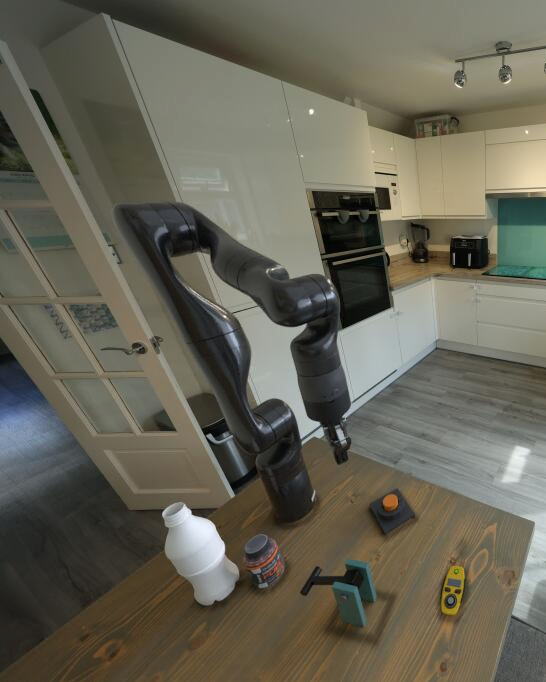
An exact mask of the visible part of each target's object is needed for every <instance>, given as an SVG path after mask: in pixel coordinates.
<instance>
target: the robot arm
mask: <svg viewBox="0 0 546 682" xmlns="http://www.w3.org/2000/svg"><path fill="white" fill-rule="evenodd" d="M111 219H112V222H113V225H114V228H115V230H116V232H117V234H118V235H119V237H120V239H121V241H122V242H123V245H124V246H125V247H126V249H127V250H128V252H129V253H130V255H131V257H132V258H133V259H134V261H135V262H136V264H137V265H138V267H139V268H140V270H141V271H142V273H143V274H144V276H145V278H146V279H147V280H148V282H149V283H150V284H151V287H153V289H154V291H155V292H156V294H157V295H158V297H159V299H160V300H161V302H162V303H163V305H164V307H165V309H166V311H167V312H168V314H169V317H170V318H171V320H172V322H173V323H174V325H175V327H176V329H177V332H178V334H179V335H180V337H181V339H182V342H183V343H184V345H185V348H187V350H188V352H189V354H190V356H191V357H192V359H193V361H194V363H195V364H196V365H197V367H198V369H199V370H200V372H201V374H202V375H203V378H204V379H205V380H206V383H207V384H208V386H209V387H210V390H211V391H212V393H213V395H214V397H215V399H216V402H217V404H218V406H219V409H220V410H221V414H222V416H223V418H224V420H225V424H226V426H227V428H228V429H229V432H230V434H231V436H232V438H233V439H234V441H235V443H236V444H237V445H238V447H240V449H241V450H242V451H243V452H245V453H247V454H248V455H251V456H256V458H255V468H256V471H257V472H258V475H259V477H260V479H261V482H262V484H263V485H262V486H263V488H264V490H265V493H266V495H267V498H268V500H269V502H270V505H271V507H272V509H273V510H272V511H273V512H274V515H275V517H276V519H277V521H279V522H280V523H283V524H291V523H295V522H298V521H300V520H301V519H303V518H305V517H306V516H308V515H309V514H310V512H311V511H312V510H313V509H314V507H315V505H316V501H318V499H317V497H316V494H317V493H316V490H315V489H314V488H313V485H312V482H311V478H310V475H309V472H308V469H307V465H306V463H305V459H304V456H303V453H302V447H303V442H302V439H301V438H302V437H301V433H300V429H299V424H298V421H297V420H298V419H297V417H296V414H295V412H294V411H293V409H292V408H291V406H290V405H289V404H288V403H287V402H285V401H284V400H283V399H280V398H276V397H273V398H269V399H266V400H264V401H263V402H261V403H260V404H258V405H257V406H255V407H253V408H252V407H251V403H250V400H249V396H248V381H249V376H250V371H251V364H252V355H253V354H252V353H253V352H252V346H251V344H250V340H249V339H248V337H247V335H246V333H245V330H244V328H243V326H242V324H241V323H240V320H239V319H238V318H237V317H236V316H235V314H234V313H232V312H231V311H229V310H228V309H227V308H226V307H224V306H222V305H221V304H219V303H218V302H216V301H215V300H213V299H211V298H210V297H208V296H207V295H205V294H204V293H202V292H200V291H199V290H197V289H196V287H194V286H193V285H191V284H190V283H189V282H188V281H187V280H186V279H185V278H184V276H182V274H181V273H180V272H179V271H178V269H177V268H176V267H175V265H174V263H173V262H172V260H171V259H172V258H179V257H186V256H192V255H197V254H199V253H201V254H204V255H205V254H206V255H208V256H209V259H210V261H209V262H210V265H211V268H212V270H213V272H214V273H215V275H216V276H217V278H219V279H220V280H221V281H222V282H223V283H225V285H228V286H229V287H231V288H233V289H234V290H237V292H240V293H242V294H243V295H245V296H247V297H249V298H250V299H251V300H252V301H253V302H254V304H256V305H257V307H259V309H261V310H262V312H263V313H264V314H265V315H266V317H267V318H268V319H269V320H270V321H271V322H272V323H274V324H275V325H277V326H280V327H284V328H289V329H290V328H291V329H292V328H298V327H301V326H303V325H305V327H304V329H303V330H302V331H301V332H300V333H299V334H297V335H296V336H295V337H294V338H293V339H292V340H291V342H290V345H289V350H290V353H291V357H292V361H293V365H294V368H295V371H296V377H297V378H296V379H297V386H298V389H299V392H300V396H301V399H302V400H301V401H302V403H303V407H304V411H305V414H306V417H307V418H308V419H309V420H311V421H313V422H316V423H319V425H320V427H321V428H322V431H323V436H324V437H325V439H326V441H327V443H328V444H329V447H331V451H332V454H333V458H334V461H335V463H336V465H337V466H340V465H342V464H344V463H346V462H348V461H349V455H348V451H349V450H350V449H351V445H352V438H351V437H350V436H348V435H349V434H348V430H347V427H348V424H347V423H348V421H347V419H346V418H345V416H344V415H345V414H346V413H348V412H349V410H350V409H351V406H352V401H351V396H350V391H349V385H348V380H347V375H346V373H345V369H344V366H343V364H342V359H341V355H340V354H341V353H340V349H339V346H338V335H339V326H340V325H339V324H340V313H341V301H340V300H341V299H340V295H339V292H338V290H337V287H336V286H335V284H334V283H333V282H332V281H331V280H330V279H329V278H328V277H327V276H325V275H323V274H320V273H309V274H305V275H300V276H297V277H293V278H290V274H289V272H288V270H287V269H286V267H285V266H284V265H282V264H281V263H279V262H278V261H276V260H274V259H272V258H270V257H268V256H266V255H264V254H262V253H260V252H258V251H256V250H254V249H252V248H250V247H248V246H246V245H244V244H243V243H241V242H240V241H238V240H237V239H235V238H234V237H233V236H232V235H231V234H230V233H228V232H227V231H226V230H224V229H223V228H222V227H220V226H219V225H218V224H217V223H216V222H214V221H213V220H211V219H210V218H209V217H207V216H206V215H205V214H204V213H202V212H201V211H199V210H198V209H197V208H195V207H193V206H191V205H189V204H187V203H184V202H181V201H167V200H166V201H165V200H163V201H162V200H161V201H160V200H159V201H126V202H117V203H115V204H114V205H113V206H112V208H111Z"/></svg>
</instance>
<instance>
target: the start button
mask: <svg viewBox="0 0 546 682" xmlns="http://www.w3.org/2000/svg"><path fill="white" fill-rule="evenodd" d="M383 506H384V509H385V510H386V511H393V510H395V509H396V508H397V506H398V499H397V496H396V495H394V494H390V495H388V496H386V497H385V498H384V500H383Z"/></svg>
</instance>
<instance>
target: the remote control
mask: <svg viewBox="0 0 546 682" xmlns="http://www.w3.org/2000/svg"><path fill="white" fill-rule="evenodd" d="M465 591H466V578H465V569H464V567H463V566H459V565H451V566H450V568H449V569H448V572H447V573H446V575H445V577H444V579H443V583H442V586H441V591H440V600H441V601H440V607H441V608H440V609H441V613H442V614H444V615H447V616H455V615H456V614H457V613H458V610H459V608H460V606H461V604H462V602H463V600H464V597H465Z"/></svg>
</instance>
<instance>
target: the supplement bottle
mask: <svg viewBox="0 0 546 682" xmlns="http://www.w3.org/2000/svg"><path fill="white" fill-rule="evenodd" d="M243 549H244V553H243V556H242V564H243V566H244V568H245V571H246V573H247V574H248V577H249V579H250V581H251V583H252V585H253V587H254V588H256V589H264V588H268V587H269V586H272V585H273V584H274V583H276V582H277V581H278V580H279V579H280V577H281V576H282V574H283V573H284V571H285V567H286V566H285V564H286V563H285V560H284V558H283V555H282V553H281V551H280V549H279V545H278V543H277V541H276V540H275V539H274V538H271V537H268V535H267V534H265V533H260V534H256V535H255V536H253V537H251V538H250V539H249V540H248V541H246V544H245V545H244V548H243Z"/></svg>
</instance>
